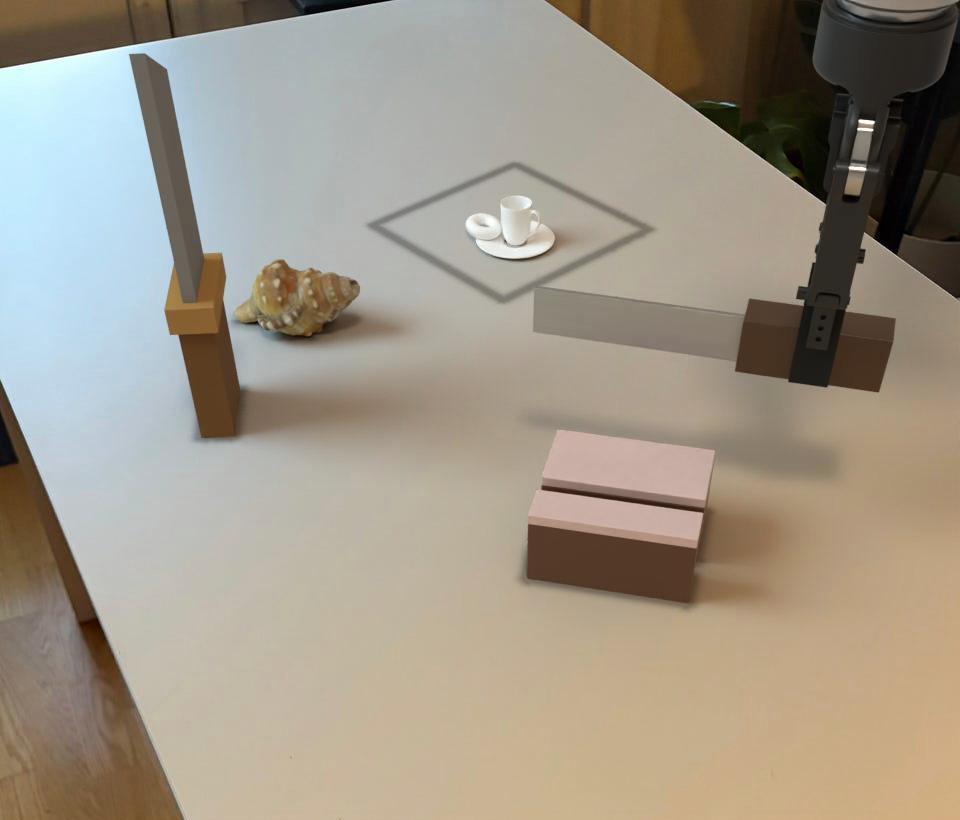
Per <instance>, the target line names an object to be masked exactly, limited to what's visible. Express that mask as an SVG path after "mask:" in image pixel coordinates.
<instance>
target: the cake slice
mask: <svg viewBox="0 0 960 820" xmlns="http://www.w3.org/2000/svg"><path fill="white" fill-rule="evenodd" d="M702 520H703V513H699V512H692V511H685V510H678V509H671V508H664V507H657V506H650V505H643V504H636V503H629V502H622V501H615V500H608V499H601V498H594V497H586V496H579V495H572V494H565V493H558V492H551V491H544V490H541V489H536V491H535V494H534V496H533V500H532V503H531V505H530V508H529V511H528V515H527V551H526V552H527V555H526V579H528V580H535V581H539V582H540V581H541V582H547V583H553V584H560V585H566V586H573V587H580V588H586V589H592V590H598V591H607V592H611V593H612V592H613V593H618V594H623V595H631V596H637V597H643V598H644V597H645V598H651V599H657V600H664V601H671V602H677V603H683V604H689V602H690V596H691V591H692V587H693V581H694V575H695V569H696V564H697V561H696V558H697V559H698V556H697V551H698V545H699V539H700V533H701V526H702ZM698 552H699V551H698Z"/></svg>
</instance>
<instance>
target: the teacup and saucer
mask: <svg viewBox="0 0 960 820" xmlns="http://www.w3.org/2000/svg"><path fill="white" fill-rule="evenodd" d="M532 215H535V216H536V217H537V221H536V220H533V219H532ZM542 220H543V217H542V214H541V213H540V212H539V211H538V210H537V209H533V200H531V199H530V197H527V196H523V195H516V194H515V195H509V196H506V197H504V198H502V199H501V201H500V219H498V218H497V217H496V216H494V215H492V214H489V213H484V212H478V213H474V214H472V215H470V216H468V217H467V218H466V221H465V228H466V231H467V232H468V234H469V235H471V236H472V237H473V238H474V239H475V243H476V245H477V247H478V248H479V249H480V250H481V251H483V252H484V253H487V254H489V255H491V256H494V257H497V258H503V259H515V260H517V259H528V258H532V257H533V258H534V257H536V256H539V255H541V254H544V253H546V252H547V251H549V250H550V249H551V248H552V247H553V246H554V244H555V241H556V237H555V234H554V233H555V232H553V230H552V229H551V228H550V227H548V226H547V225H545V224H543V223H542ZM505 241H506V243H507V244H508V245H510V246H513V247H509V246H507V245H505ZM525 242H526V244H525ZM524 244H525V245H524ZM521 245H524V246H521ZM514 246H518V247H514ZM519 246H521V247H519Z"/></svg>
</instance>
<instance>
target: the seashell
mask: <svg viewBox="0 0 960 820" xmlns="http://www.w3.org/2000/svg"><path fill="white" fill-rule="evenodd" d="M360 294H361V285H360V284H359V282H358V281H357V280H356V279H354V278H351V277H350V276H345V275H341V276H340V275H339V274H337V273H336V272H332V271H329V272H324V273H323V272H322V271H321V270H319V269H314V267H308V268H306V269H304V270H298V269H295V268H292V267H290V265H288V263H287V262H286V260H285V259H284V258H276V259H275V260H273V261H272V262H271V263H270V264H268V265H264V266H263V267H262V268H261V270H260V272H259V273H258V274H257V275H256V276H255V278H254V281H253V284H252V286H251V294H250V297H249V298H248V299H247V300H245V301H244V302H243V303H242V304H241V305H239V306H238V307H236V308H235V311H234V315H235V319H236V320H237V321H239V322H241V323H245V324H246V323H252V322H253V323H254V322H258V324H259V326H260V327H261V328H262V329H263V330H265V331H267V332H270V331H271V332H273V333H274V332H280V333H284V334H286V335H290V336H305V337H310V336H312V335H313V334H318V333H321V332H322V331H323V326H324V324H326V323H331V322H332V321H333V320H335V319H337V318H338V317H339V316H340V315H341V313H342V311H344V310H346V309H347V308H348V307H350V305H351V304H352V303H353V301H355V300H356V299H357V298H358V297H359V295H360Z"/></svg>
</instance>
